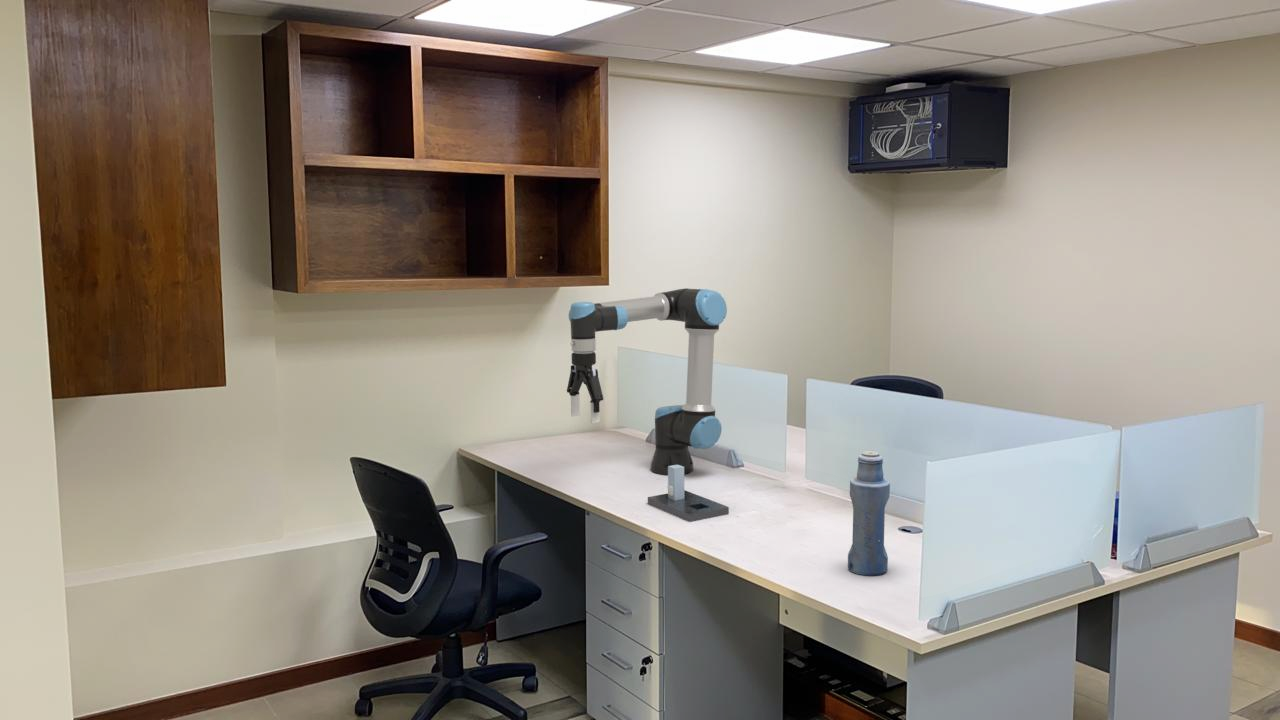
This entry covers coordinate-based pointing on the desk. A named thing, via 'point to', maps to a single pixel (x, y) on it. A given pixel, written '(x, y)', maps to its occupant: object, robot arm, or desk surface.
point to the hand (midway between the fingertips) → (585, 419)
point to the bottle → (868, 516)
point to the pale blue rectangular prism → (675, 482)
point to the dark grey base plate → (689, 506)
